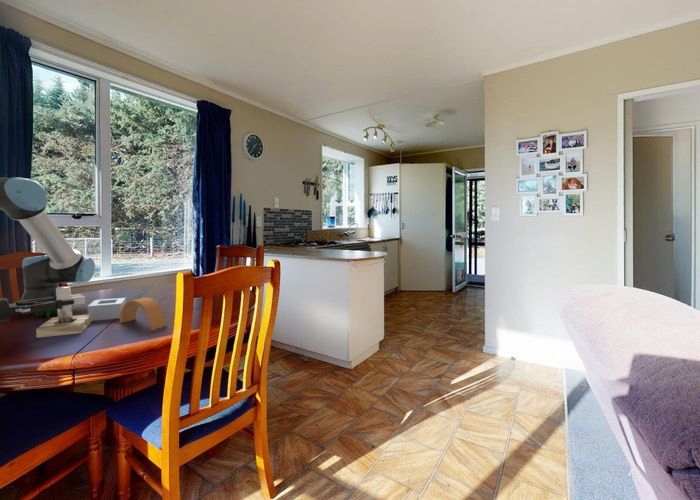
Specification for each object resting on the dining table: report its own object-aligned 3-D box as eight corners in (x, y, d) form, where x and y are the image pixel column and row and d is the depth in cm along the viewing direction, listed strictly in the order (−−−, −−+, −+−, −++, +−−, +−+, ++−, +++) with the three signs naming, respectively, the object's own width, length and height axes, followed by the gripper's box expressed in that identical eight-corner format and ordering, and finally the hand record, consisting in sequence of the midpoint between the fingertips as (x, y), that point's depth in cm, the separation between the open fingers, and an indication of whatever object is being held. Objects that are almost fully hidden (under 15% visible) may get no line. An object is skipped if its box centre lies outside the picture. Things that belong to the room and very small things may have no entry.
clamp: (45, 327, 135) (32, 311, 131) (42, 321, 139) (29, 304, 134) (79, 311, 143) (68, 295, 138) (75, 306, 146) (65, 289, 141)
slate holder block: (95, 314, 140) (94, 300, 140) (126, 311, 145) (125, 297, 145) (88, 321, 130) (87, 306, 130) (121, 318, 135) (121, 303, 135)
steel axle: (60, 324, 122) (58, 287, 120) (74, 323, 123) (72, 286, 122) (56, 328, 118) (54, 289, 117) (71, 326, 120) (68, 288, 118)
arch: (151, 331, 120) (150, 304, 119) (119, 322, 130) (118, 297, 129) (166, 326, 126) (165, 300, 125) (135, 319, 135) (134, 294, 134)
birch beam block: (52, 325, 125) (51, 317, 124) (91, 321, 130) (91, 314, 130) (36, 337, 112) (36, 329, 112) (81, 333, 117) (80, 324, 117)
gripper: (-11, 317, 112) (78, 304, 130) (-6, 328, 101) (90, 312, 119) (-13, 295, 111) (76, 285, 129) (-8, 304, 100) (88, 292, 118)
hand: (82, 298), depth 124 cm, fingers closed on steel axle, 4 cm apart
